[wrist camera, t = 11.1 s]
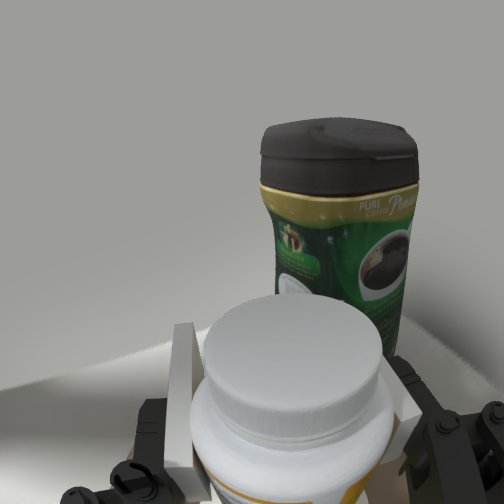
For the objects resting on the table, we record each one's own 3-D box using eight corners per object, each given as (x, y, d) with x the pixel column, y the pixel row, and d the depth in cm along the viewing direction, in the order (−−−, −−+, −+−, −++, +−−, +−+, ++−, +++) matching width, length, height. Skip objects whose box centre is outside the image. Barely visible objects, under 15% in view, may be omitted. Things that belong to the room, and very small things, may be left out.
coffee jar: (340, 325, 29) (347, 119, 21) (404, 366, 22) (439, 124, 15) (254, 368, 24) (233, 121, 17) (316, 431, 18) (331, 113, 11)
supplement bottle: (330, 444, 13) (358, 266, 9) (364, 532, 8) (470, 389, 4) (222, 463, 13) (175, 290, 9) (233, 559, 8) (152, 464, 4)
